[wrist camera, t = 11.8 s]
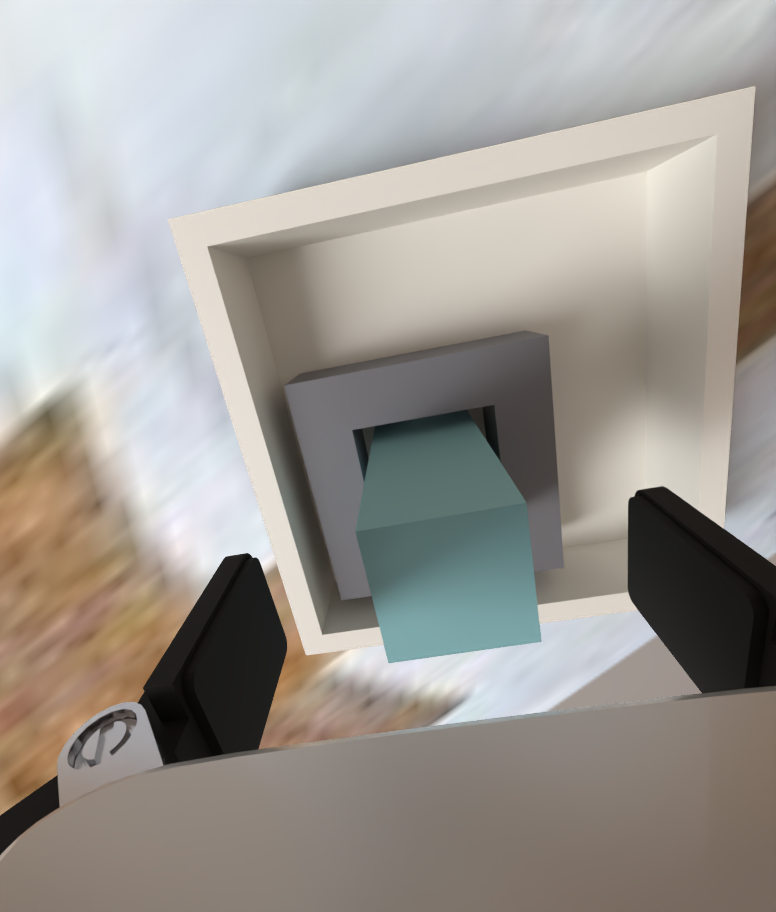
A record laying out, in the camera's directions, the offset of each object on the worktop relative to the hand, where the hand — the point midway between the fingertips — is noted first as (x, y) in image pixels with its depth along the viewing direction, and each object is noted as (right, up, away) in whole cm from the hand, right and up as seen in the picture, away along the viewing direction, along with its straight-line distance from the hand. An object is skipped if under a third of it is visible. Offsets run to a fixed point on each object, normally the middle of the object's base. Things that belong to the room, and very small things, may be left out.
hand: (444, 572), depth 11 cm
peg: (0, +3, +10) cm, 10 cm away
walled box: (+2, +5, +10) cm, 11 cm away
